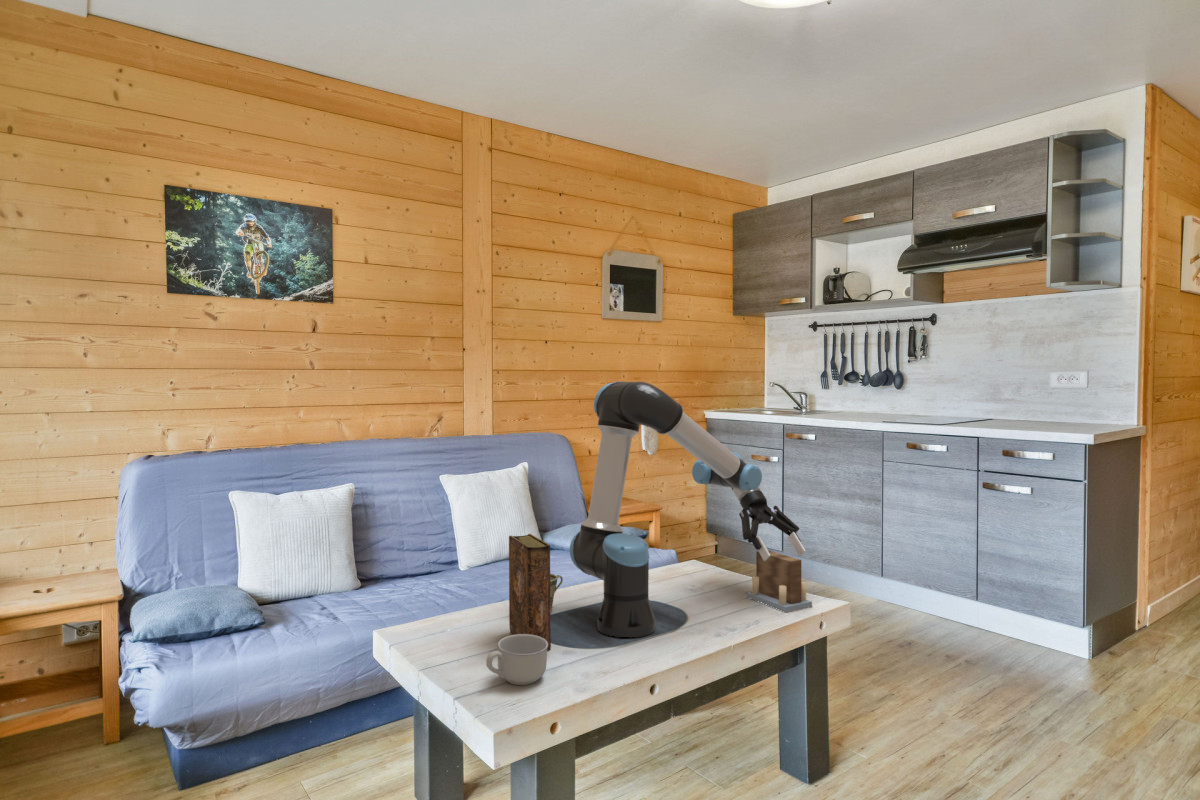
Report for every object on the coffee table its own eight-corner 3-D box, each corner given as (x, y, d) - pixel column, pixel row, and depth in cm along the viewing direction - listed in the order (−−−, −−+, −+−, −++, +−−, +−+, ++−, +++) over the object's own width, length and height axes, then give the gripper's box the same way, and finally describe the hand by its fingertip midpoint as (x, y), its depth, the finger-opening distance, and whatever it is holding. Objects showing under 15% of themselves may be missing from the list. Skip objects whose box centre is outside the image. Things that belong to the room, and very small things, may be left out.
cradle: (746, 597, 204) (746, 575, 204) (771, 592, 209) (771, 571, 209) (785, 612, 191) (785, 589, 190) (811, 606, 195) (812, 584, 195)
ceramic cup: (535, 621, 184) (535, 584, 184) (514, 612, 192) (514, 576, 192) (573, 611, 193) (573, 575, 192) (551, 603, 200) (551, 568, 200)
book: (552, 651, 164) (552, 546, 163) (530, 655, 161) (530, 548, 161) (529, 629, 178) (529, 532, 178) (509, 632, 176) (508, 534, 176)
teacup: (536, 665, 155) (536, 630, 155) (556, 683, 146) (556, 646, 145) (476, 678, 148) (476, 641, 148) (493, 698, 139) (493, 658, 139)
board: (756, 591, 205) (756, 551, 205) (766, 589, 207) (766, 549, 207) (791, 604, 193) (791, 561, 193) (801, 602, 195) (801, 559, 195)
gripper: (774, 501, 219) (809, 558, 206) (712, 506, 207) (745, 567, 194) (786, 486, 215) (823, 544, 202) (724, 491, 202) (758, 552, 189)
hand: (785, 555), depth 198 cm, fingers open, 13 cm apart
